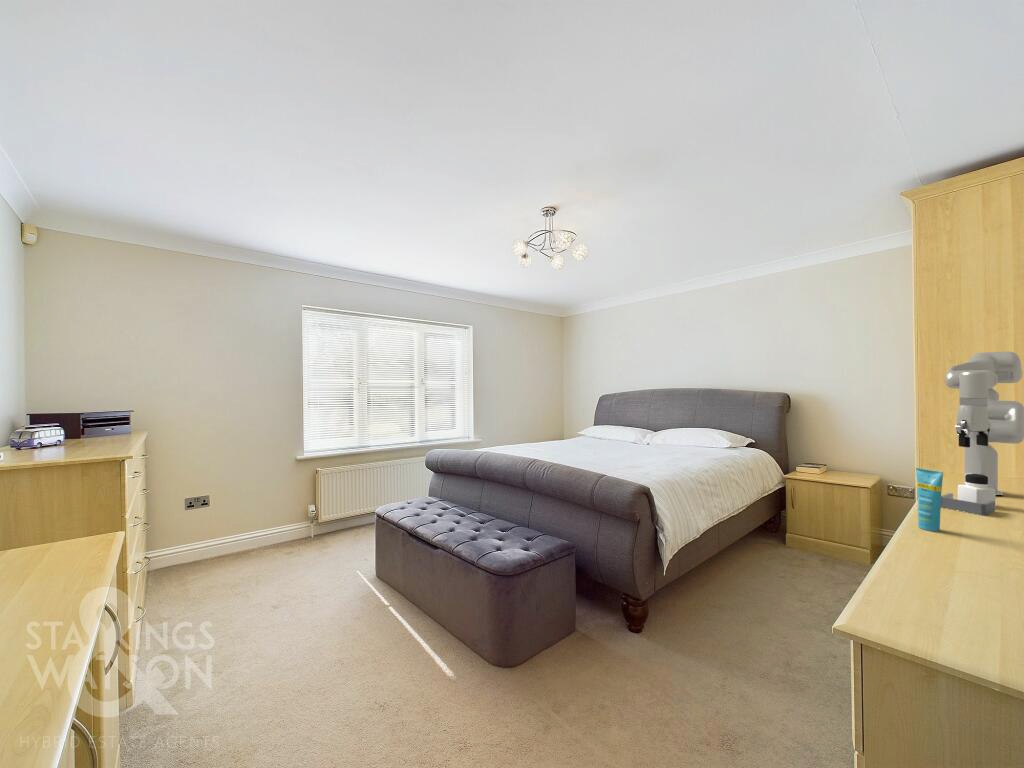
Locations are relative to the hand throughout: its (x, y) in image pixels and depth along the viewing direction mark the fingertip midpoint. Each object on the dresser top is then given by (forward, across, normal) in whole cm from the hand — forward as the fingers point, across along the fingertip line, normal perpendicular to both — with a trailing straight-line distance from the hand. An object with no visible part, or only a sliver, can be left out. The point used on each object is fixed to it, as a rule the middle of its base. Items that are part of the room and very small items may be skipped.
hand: (973, 446), depth 165 cm
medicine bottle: (+23, +2, +2) cm, 23 cm away
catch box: (+22, +13, +5) cm, 26 cm away
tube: (+21, +52, +18) cm, 59 cm away
